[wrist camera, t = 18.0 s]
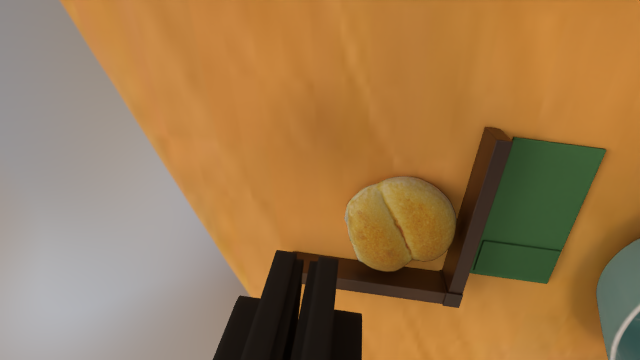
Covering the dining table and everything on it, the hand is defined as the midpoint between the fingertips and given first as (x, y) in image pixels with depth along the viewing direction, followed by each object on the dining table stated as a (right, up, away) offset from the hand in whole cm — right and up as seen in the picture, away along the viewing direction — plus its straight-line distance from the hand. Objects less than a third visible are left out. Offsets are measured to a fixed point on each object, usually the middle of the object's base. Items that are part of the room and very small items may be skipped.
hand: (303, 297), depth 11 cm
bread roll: (+7, 0, +25) cm, 26 cm away
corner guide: (+6, +1, +24) cm, 25 cm away
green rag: (+18, 0, +23) cm, 30 cm away
